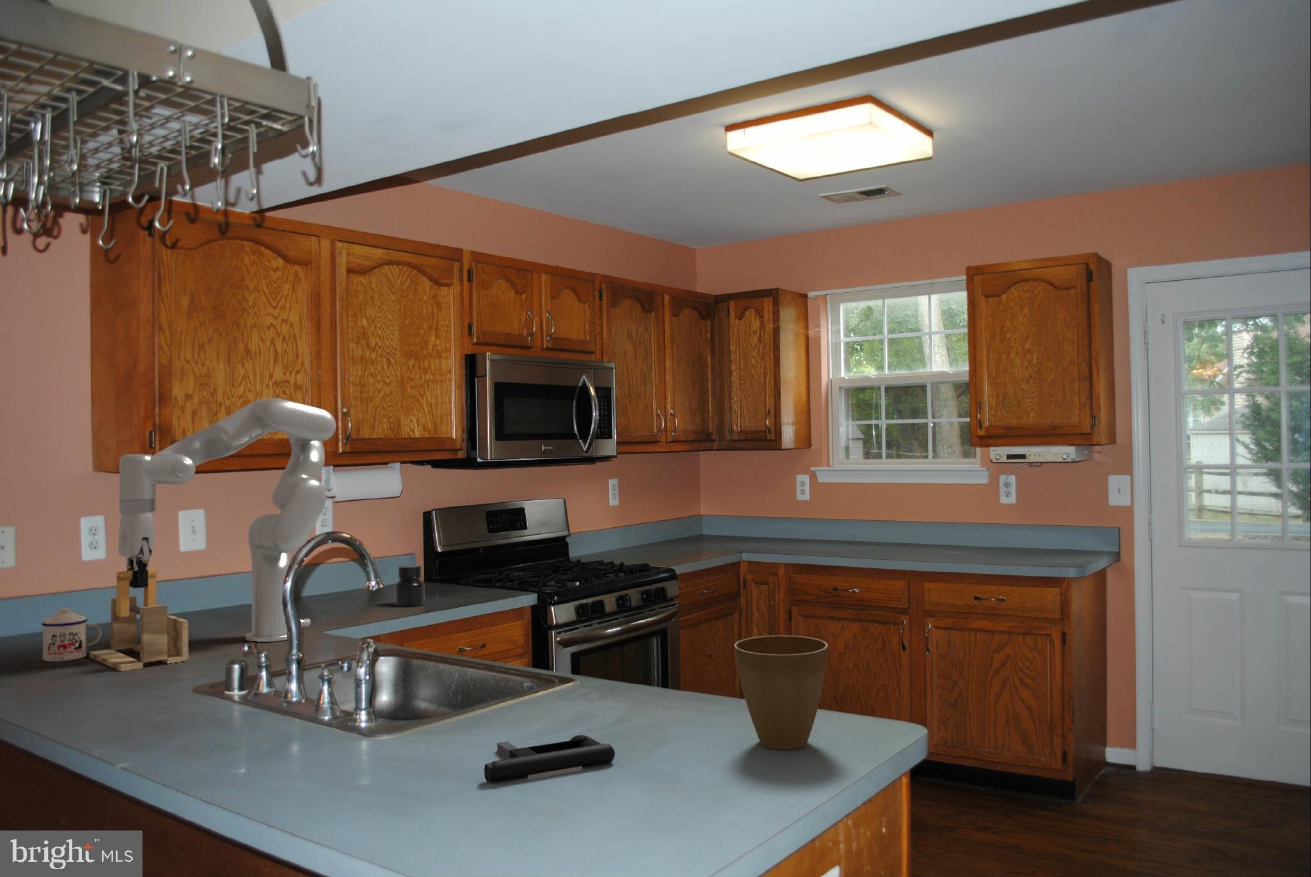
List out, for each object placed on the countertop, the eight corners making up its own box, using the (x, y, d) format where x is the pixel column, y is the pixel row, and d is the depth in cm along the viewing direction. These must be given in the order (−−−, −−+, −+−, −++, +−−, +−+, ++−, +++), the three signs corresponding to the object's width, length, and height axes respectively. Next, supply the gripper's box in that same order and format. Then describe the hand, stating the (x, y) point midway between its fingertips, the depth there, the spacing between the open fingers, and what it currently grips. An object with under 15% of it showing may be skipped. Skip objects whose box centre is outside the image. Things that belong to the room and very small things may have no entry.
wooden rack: (89, 657, 224) (89, 600, 224) (153, 647, 234) (153, 593, 234) (121, 671, 209) (121, 610, 209) (188, 660, 219) (188, 603, 219)
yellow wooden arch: (151, 611, 225) (152, 569, 225) (156, 612, 223) (156, 570, 223) (116, 615, 219) (116, 572, 220) (120, 616, 217) (121, 573, 218)
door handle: (460, 743, 149) (491, 766, 134) (579, 725, 158) (620, 746, 143) (461, 764, 148) (491, 790, 134) (580, 746, 157) (621, 768, 143)
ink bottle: (427, 602, 301) (426, 564, 301) (425, 606, 292) (424, 567, 292) (395, 603, 299) (394, 564, 299) (392, 607, 291) (392, 568, 291)
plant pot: (777, 724, 164) (776, 631, 164) (848, 744, 153) (846, 643, 153) (716, 742, 154) (715, 643, 154) (786, 765, 143) (785, 657, 143)
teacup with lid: (42, 664, 217) (42, 612, 217) (41, 657, 224) (41, 607, 224) (103, 657, 223) (103, 607, 224) (100, 651, 231) (100, 602, 231)
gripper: (108, 506, 225) (107, 585, 224) (132, 509, 213) (131, 592, 213) (142, 505, 230) (142, 582, 230) (167, 508, 219) (167, 588, 218)
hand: (137, 586), depth 221 cm, fingers closed on yellow wooden arch, 3 cm apart
